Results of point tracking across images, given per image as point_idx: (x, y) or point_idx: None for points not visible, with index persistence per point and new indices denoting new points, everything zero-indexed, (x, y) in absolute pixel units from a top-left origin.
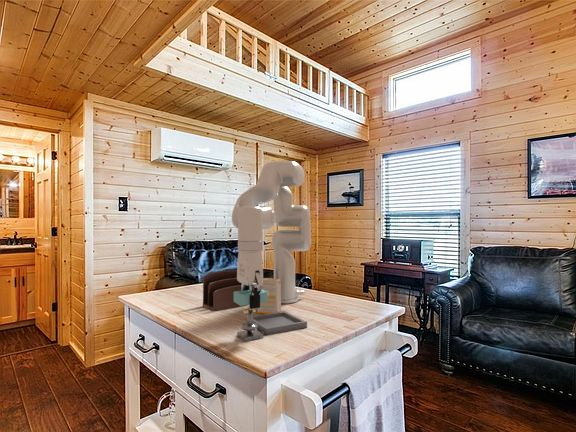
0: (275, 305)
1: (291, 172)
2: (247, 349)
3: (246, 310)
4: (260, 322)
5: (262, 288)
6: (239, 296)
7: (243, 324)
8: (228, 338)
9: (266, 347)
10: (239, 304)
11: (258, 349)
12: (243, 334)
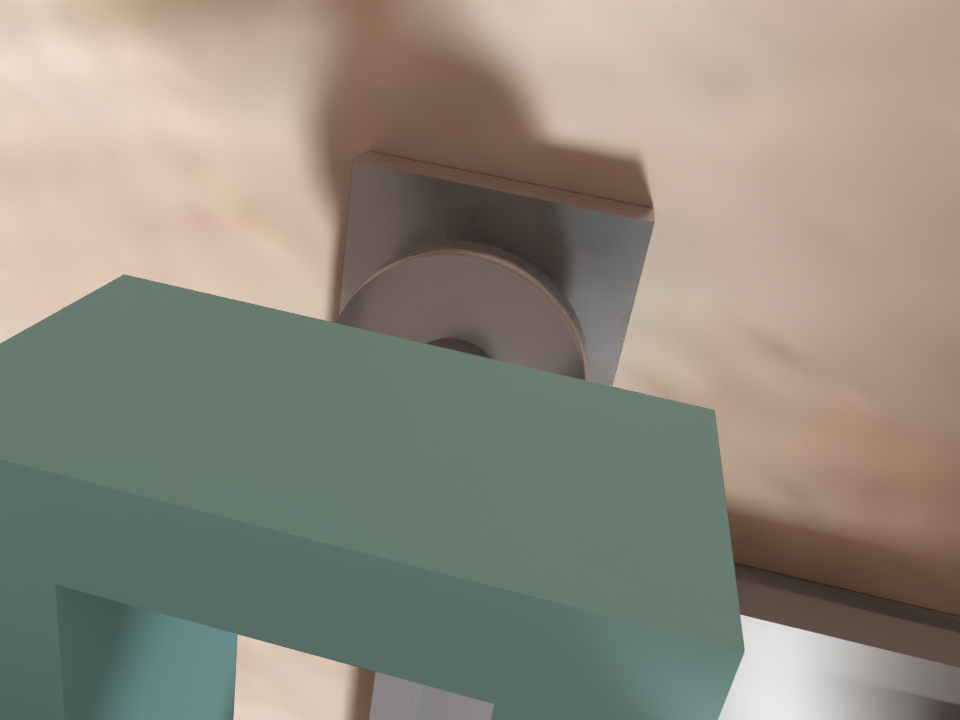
0: None
1: None
2: (93, 17)
3: None
4: (810, 698)
5: None
6: (19, 419)
7: (545, 324)
8: (629, 30)
9: (54, 240)
10: (192, 300)
11: (36, 130)
12: (488, 232)
